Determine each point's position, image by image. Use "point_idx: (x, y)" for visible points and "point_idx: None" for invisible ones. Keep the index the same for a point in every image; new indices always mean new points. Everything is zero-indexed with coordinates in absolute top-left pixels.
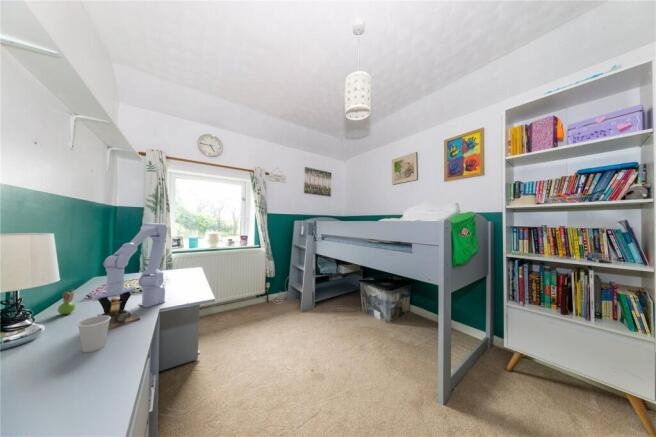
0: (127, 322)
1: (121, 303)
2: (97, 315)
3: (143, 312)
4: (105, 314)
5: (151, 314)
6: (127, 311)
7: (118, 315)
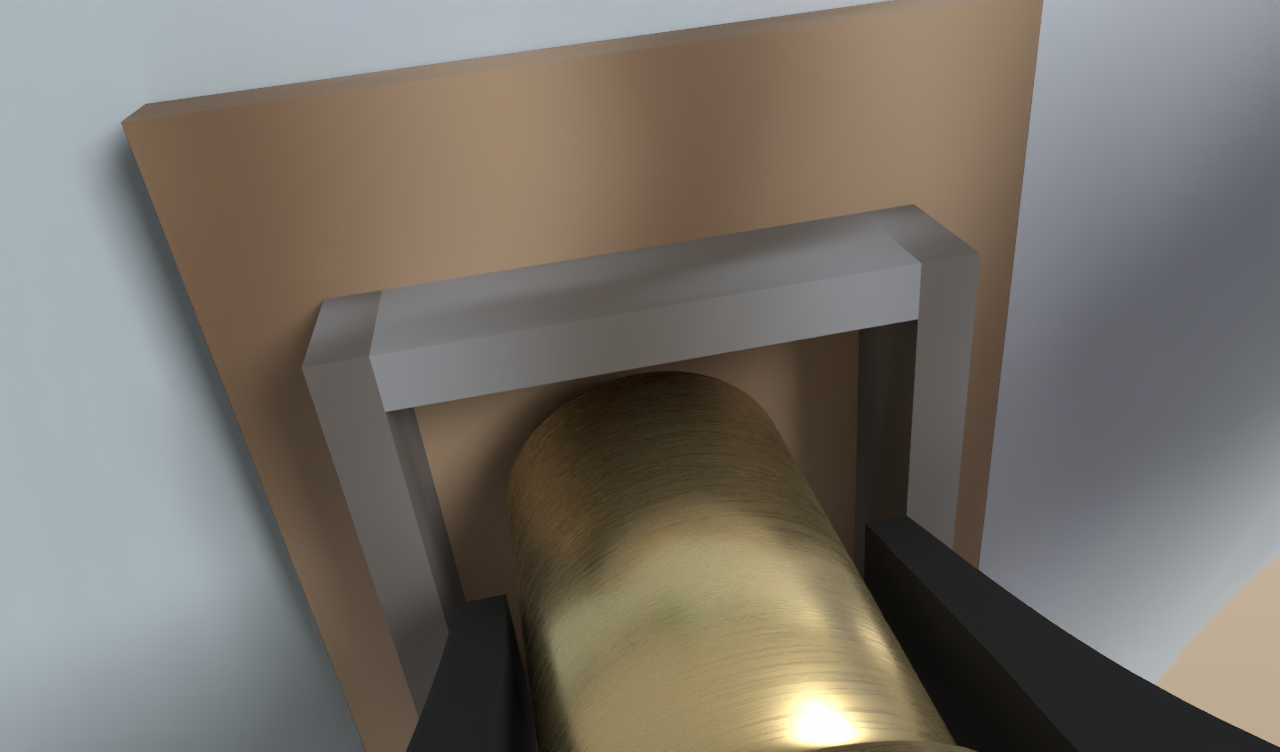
0: None
1: (969, 718)
2: (307, 363)
3: (1187, 412)
4: (514, 374)
5: (1168, 617)
6: None
7: None
